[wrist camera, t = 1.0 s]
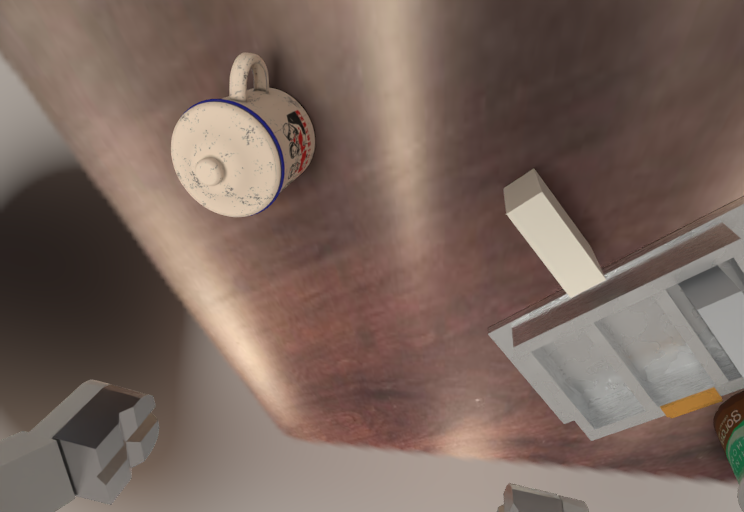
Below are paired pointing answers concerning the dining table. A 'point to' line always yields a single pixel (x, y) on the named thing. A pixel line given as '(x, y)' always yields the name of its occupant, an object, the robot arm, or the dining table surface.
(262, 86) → the teacup with lid
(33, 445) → the robot arm
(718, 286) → the gray rectangular block
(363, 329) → the dining table surface
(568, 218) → the beige rectangular block
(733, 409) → the food container
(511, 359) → the rack
